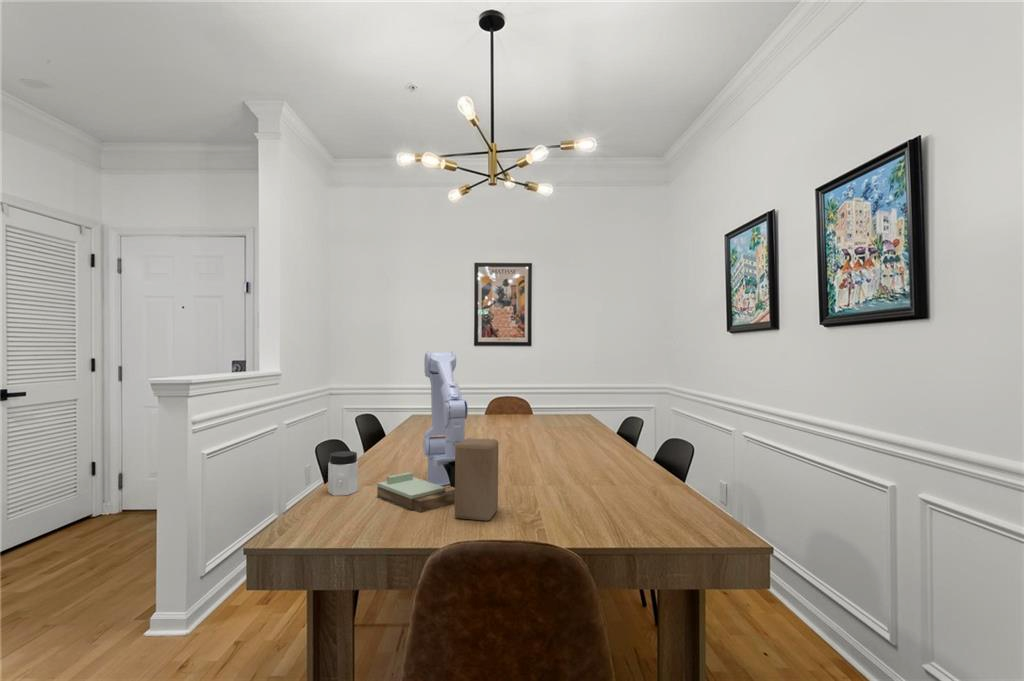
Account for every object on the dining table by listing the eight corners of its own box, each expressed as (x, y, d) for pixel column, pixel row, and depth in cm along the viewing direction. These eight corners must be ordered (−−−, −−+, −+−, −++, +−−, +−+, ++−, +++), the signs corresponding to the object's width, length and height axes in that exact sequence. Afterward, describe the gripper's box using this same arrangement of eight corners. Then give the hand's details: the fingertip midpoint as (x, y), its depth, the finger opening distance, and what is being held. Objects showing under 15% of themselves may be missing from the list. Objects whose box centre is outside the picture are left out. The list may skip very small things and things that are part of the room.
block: (489, 522, 133) (490, 445, 134) (453, 519, 135) (454, 443, 136) (498, 510, 143) (499, 438, 143) (464, 507, 145) (465, 437, 145)
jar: (325, 496, 155) (325, 456, 155) (330, 488, 163) (331, 451, 163) (355, 495, 156) (356, 456, 156) (359, 488, 164) (360, 450, 164)
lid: (410, 479, 163) (410, 470, 163) (445, 490, 151) (445, 480, 151) (377, 486, 155) (377, 476, 155) (411, 499, 142) (411, 488, 142)
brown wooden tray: (426, 485, 167) (426, 476, 168) (467, 499, 153) (467, 489, 153) (377, 496, 155) (377, 487, 155) (417, 513, 140) (417, 502, 140)
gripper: (443, 445, 143) (443, 494, 143) (482, 439, 153) (481, 484, 153) (428, 442, 148) (428, 489, 148) (467, 436, 158) (466, 480, 158)
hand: (454, 486), depth 151 cm, fingers closed
